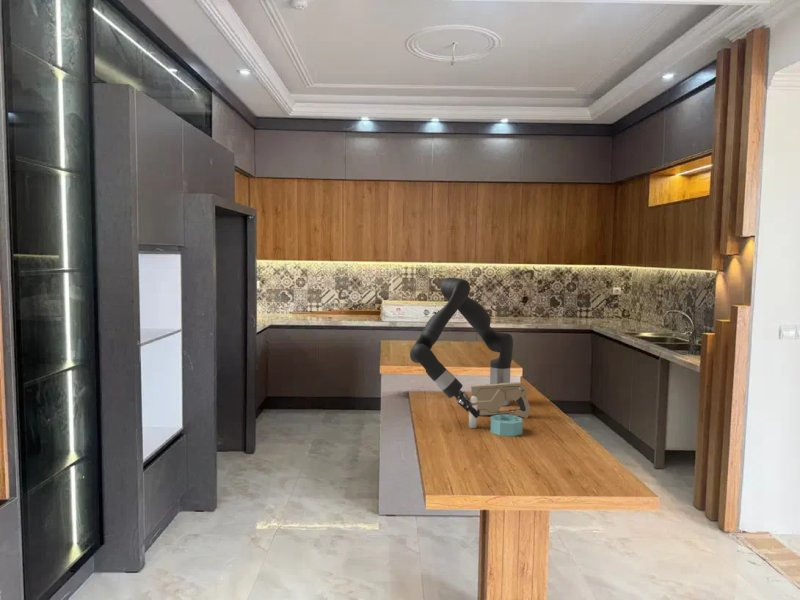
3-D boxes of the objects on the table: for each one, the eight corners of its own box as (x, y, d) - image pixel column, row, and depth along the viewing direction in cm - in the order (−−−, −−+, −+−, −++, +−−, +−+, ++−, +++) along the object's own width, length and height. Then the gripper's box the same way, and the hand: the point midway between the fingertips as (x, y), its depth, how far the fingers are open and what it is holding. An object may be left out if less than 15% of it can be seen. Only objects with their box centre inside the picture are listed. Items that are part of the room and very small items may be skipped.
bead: (490, 426, 229) (490, 413, 228) (521, 427, 227) (521, 415, 226) (490, 435, 217) (490, 422, 216) (522, 437, 215) (523, 424, 214)
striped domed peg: (468, 425, 229) (469, 394, 228) (477, 426, 228) (477, 395, 227) (468, 427, 225) (469, 396, 224) (476, 428, 225) (477, 397, 224)
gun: (530, 415, 244) (528, 381, 243) (531, 418, 241) (529, 383, 240) (473, 418, 247) (470, 384, 246) (473, 420, 243) (471, 386, 242)
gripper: (453, 380, 219) (485, 413, 218) (456, 373, 233) (485, 404, 232) (439, 393, 221) (470, 426, 220) (442, 385, 235) (472, 416, 234)
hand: (478, 414), depth 226 cm, fingers closed on striped domed peg, 3 cm apart
